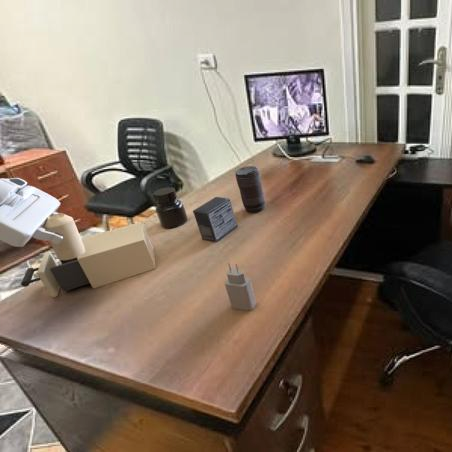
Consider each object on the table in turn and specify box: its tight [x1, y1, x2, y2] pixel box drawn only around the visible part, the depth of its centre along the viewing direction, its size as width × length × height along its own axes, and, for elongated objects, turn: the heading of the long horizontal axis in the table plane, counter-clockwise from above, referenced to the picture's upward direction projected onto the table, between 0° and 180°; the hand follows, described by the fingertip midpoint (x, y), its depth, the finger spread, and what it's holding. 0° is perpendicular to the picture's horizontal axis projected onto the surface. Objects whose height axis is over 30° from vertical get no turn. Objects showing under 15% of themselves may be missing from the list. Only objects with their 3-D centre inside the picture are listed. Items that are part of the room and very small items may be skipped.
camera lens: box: [234, 165, 266, 214], centre depth 123 cm, size 8×8×15 cm
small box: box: [192, 196, 238, 243], centre depth 111 cm, size 11×6×10 cm, turn 154°
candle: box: [42, 212, 85, 261], centre depth 80 cm, size 6×6×10 cm
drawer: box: [20, 250, 90, 298], centre depth 94 cm, size 19×11×8 cm, turn 118°
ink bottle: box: [152, 186, 188, 229], centre depth 120 cm, size 10×9×12 cm
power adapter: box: [223, 262, 257, 312], centre depth 79 cm, size 3×5×12 cm, turn 73°
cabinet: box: [77, 221, 157, 289], centre depth 98 cm, size 16×13×10 cm
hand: (66, 233), depth 80 cm, fingers closed on candle, 5 cm apart
